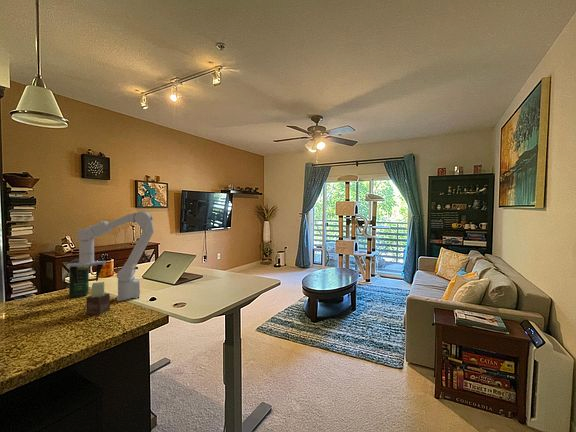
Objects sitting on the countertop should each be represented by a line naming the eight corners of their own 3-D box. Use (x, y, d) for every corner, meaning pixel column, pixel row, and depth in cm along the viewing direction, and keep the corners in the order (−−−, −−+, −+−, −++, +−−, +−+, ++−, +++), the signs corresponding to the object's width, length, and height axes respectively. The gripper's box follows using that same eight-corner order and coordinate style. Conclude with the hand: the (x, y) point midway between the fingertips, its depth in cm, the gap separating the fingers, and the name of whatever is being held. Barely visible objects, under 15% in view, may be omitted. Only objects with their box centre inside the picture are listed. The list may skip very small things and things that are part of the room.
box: (110, 310, 119) (110, 293, 119) (99, 315, 113) (99, 297, 113) (97, 309, 119) (97, 292, 119) (85, 314, 113) (85, 297, 113)
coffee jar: (88, 296, 137) (88, 259, 137) (68, 298, 133) (68, 261, 132) (89, 291, 145) (89, 256, 145) (70, 293, 140) (70, 258, 140)
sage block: (104, 293, 119) (104, 282, 119) (103, 295, 115) (103, 284, 115) (93, 294, 117) (93, 283, 117) (91, 297, 113) (91, 285, 113)
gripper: (66, 255, 121) (66, 285, 122) (105, 253, 129) (105, 281, 130) (68, 253, 127) (68, 282, 128) (105, 251, 135) (105, 278, 136)
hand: (86, 281), depth 129 cm, fingers open, 7 cm apart
